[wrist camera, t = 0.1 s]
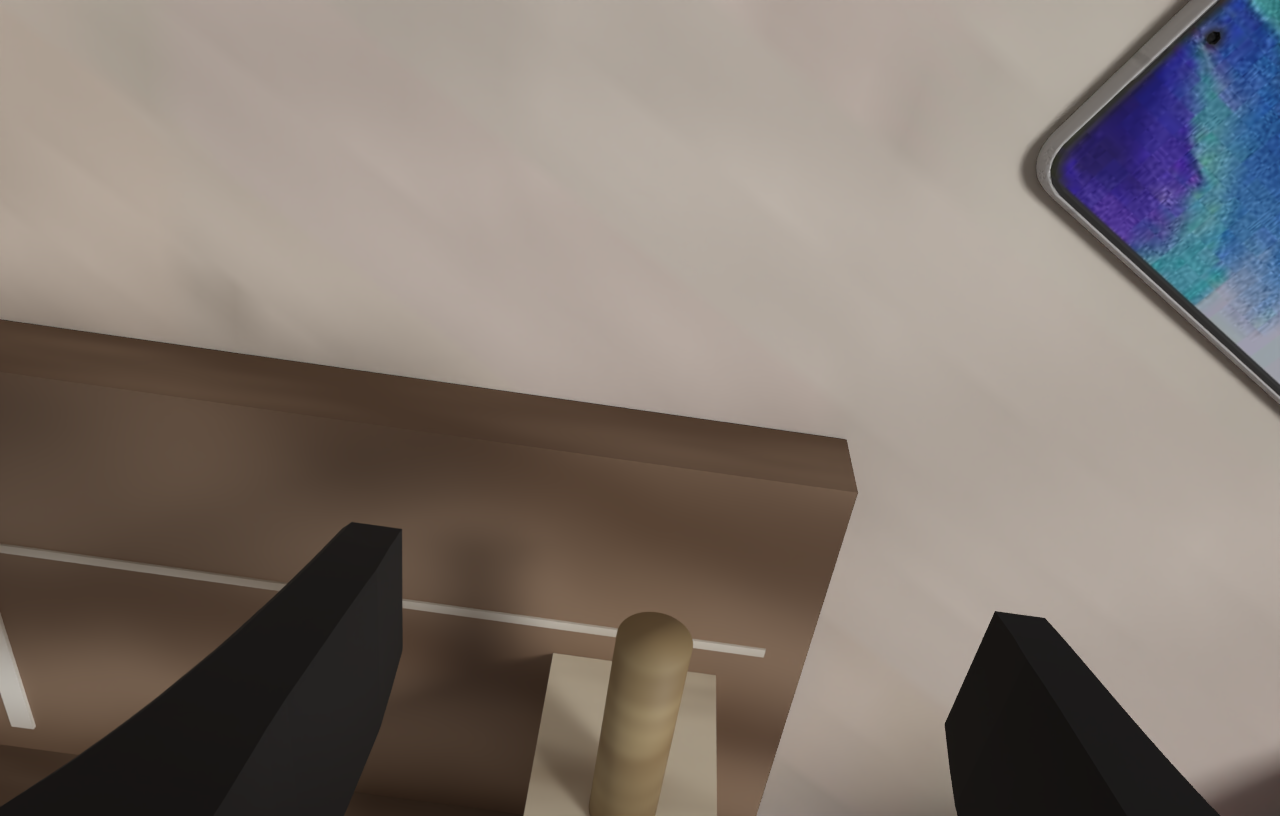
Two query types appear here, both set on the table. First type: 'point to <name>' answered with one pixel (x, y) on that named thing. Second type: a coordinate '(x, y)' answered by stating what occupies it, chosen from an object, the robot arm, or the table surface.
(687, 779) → the beige block with rod
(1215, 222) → the smartphone
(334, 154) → the table surface
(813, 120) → the table surface
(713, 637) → the board
